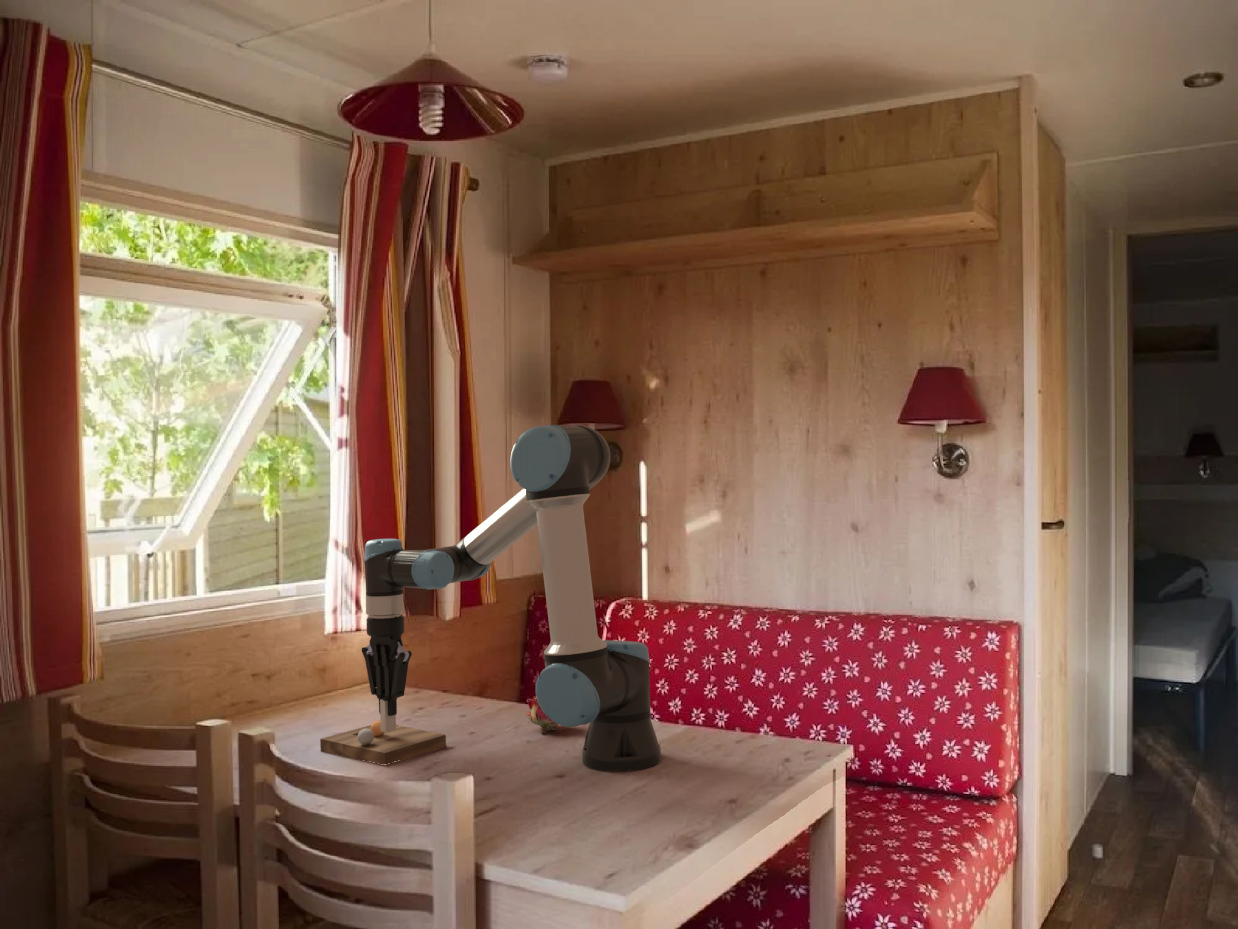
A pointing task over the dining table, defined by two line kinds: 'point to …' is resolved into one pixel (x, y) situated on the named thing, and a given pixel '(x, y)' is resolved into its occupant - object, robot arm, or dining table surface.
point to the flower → (540, 716)
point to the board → (384, 744)
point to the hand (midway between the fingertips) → (388, 730)
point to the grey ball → (365, 736)
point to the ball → (376, 728)
